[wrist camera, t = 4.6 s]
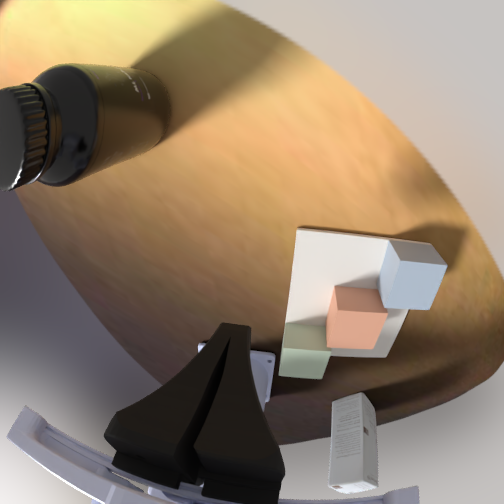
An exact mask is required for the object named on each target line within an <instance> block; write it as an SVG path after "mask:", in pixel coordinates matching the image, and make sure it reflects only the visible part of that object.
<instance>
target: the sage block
mask: <svg viewBox="0 0 504 504" xmlns="http://www.w3.org/2000/svg"><path fill="white" fill-rule="evenodd" d="M330 355H331V348H330V347H327V341H326V326H314V325H302V324H292V323H285V330H284V337H283V344H282V350H281V359H280V367H279V376H286V377H298V378H311V379H322V377H323V374H324V372H325V369H326V366H327V363H328V360H329V357H330Z"/></svg>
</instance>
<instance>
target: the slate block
mask: <svg viewBox="0 0 504 504" xmlns="http://www.w3.org/2000/svg"><path fill="white" fill-rule="evenodd" d="M447 266H448V265H447V264H446V263H445V261H444V260H443V259H442V257H441V256H440V255H439V253H438V252H437V251H436V249H435V248H434V247H433V246H432V245H425V244H417V243H409V242H401V241H393V240H389V241H388V245H387V249H386V253H385V256H384V260H383V263H382V267H381V270H380V274H379V277H378V280H377V284H376V285H377V288H378V290H379V293H380V296H381V299H382V302H383V305H384V308H395V309H417V310H429V309H430V307H431V305H432V302H433V300H434V298H435V295H436V293H437V291H438V288H439V286H440V284H441V281H442V279H443V276H444V274H445V271H446V268H447Z"/></svg>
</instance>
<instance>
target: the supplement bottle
mask: <svg viewBox="0 0 504 504" xmlns="http://www.w3.org/2000/svg"><path fill="white" fill-rule="evenodd" d="M169 117H170V101H169V96H168V93H167V91H166V89H165V87H164V85H163V84H162V82H161V81H160V80H159V79H158V78H157V77H155V76H154V75H153V74H151V73H149V72H146V71H143V70H138V69H132V68H124V67H115V66H106V65H93V64H75V63H69V64H59V65H55V66H53V67H50V68H49V69H47V70H45V71H44V72H42V73H41V74H40V75H38V76H37V77H36V78H35V79H34V80H33V81H32V82H31V83H25V84H21V85H19V86H12V87H7V88H3V89H1V90H0V190H3V191H11V190H14V189H16V188H18V187H20V186H22V185H26V184H31V183H33V182H35V181H38V182H40V183H42V184H45V185H48V186H53V187H60V186H66V185H69V184H71V183H74V182H76V181H78V180H81V179H83V178H85V177H87V176H90V175H92V174H94V173H96V172H99V171H101V170H103V169H106V168H108V167H111V166H113V165H116V164H118V163H121V162H123V161H126V160H128V159H131V158H134V157H136V156H139V155H141V154H143V153H145V152H147V151H149V150H150V149H151V148H153V147H154V146H155V145H156V144H157V143H158V141H159V140H160V139H161V137H162V136H163V134H164V132H165V130H166V128H167V125H168V122H169Z"/></svg>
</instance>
